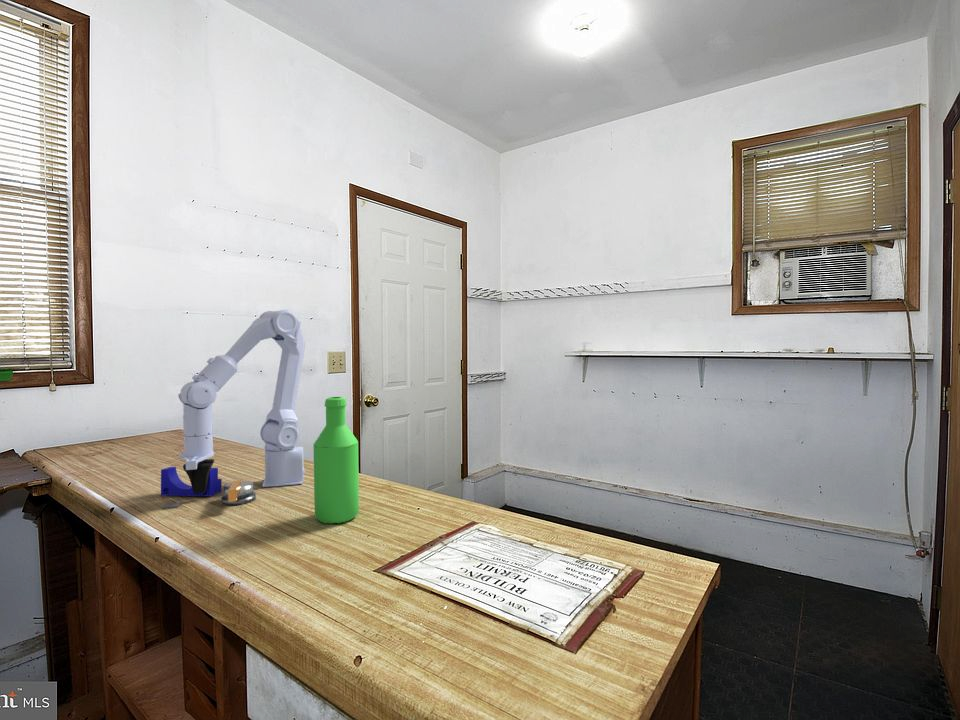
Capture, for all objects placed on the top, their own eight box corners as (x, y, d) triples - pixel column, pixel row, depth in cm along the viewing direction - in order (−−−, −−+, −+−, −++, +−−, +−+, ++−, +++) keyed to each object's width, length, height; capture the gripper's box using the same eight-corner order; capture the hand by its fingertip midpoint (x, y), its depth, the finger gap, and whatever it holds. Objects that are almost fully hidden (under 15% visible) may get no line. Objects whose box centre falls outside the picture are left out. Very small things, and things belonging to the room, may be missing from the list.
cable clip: (221, 491, 117) (221, 466, 117) (209, 496, 112) (210, 470, 112) (174, 490, 118) (174, 465, 118) (160, 495, 113) (161, 469, 113)
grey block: (180, 504, 108) (180, 502, 108) (177, 507, 106) (177, 505, 106) (164, 505, 107) (164, 504, 107) (161, 509, 105) (161, 507, 105)
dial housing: (257, 494, 115) (257, 489, 115) (253, 503, 108) (253, 499, 108) (224, 497, 113) (224, 492, 113) (218, 507, 106) (218, 502, 106)
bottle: (346, 527, 95) (344, 401, 94) (306, 523, 97) (304, 399, 95) (365, 511, 103) (364, 395, 102) (328, 508, 105) (326, 394, 104)
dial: (226, 491, 112) (226, 476, 112) (254, 489, 114) (254, 474, 114) (216, 508, 101) (216, 491, 101) (248, 505, 103) (247, 488, 103)
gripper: (186, 429, 115) (187, 485, 116) (168, 441, 102) (170, 505, 102) (219, 427, 118) (220, 482, 118) (206, 439, 104) (207, 501, 105)
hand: (199, 493), depth 110 cm, fingers closed
